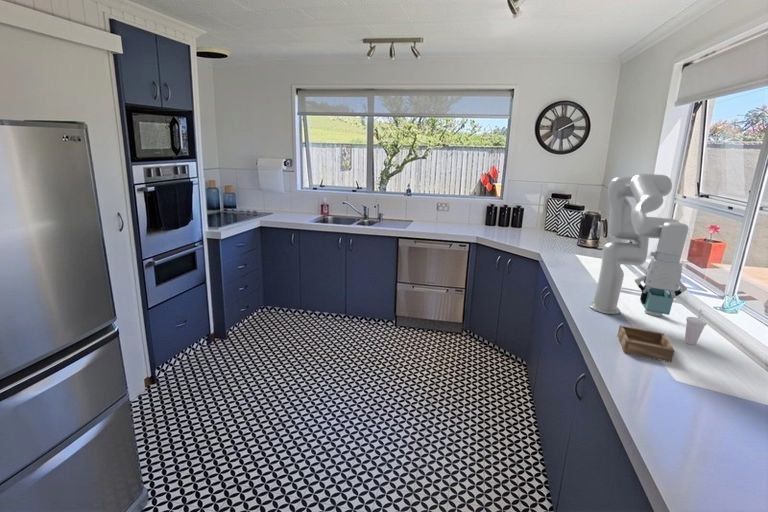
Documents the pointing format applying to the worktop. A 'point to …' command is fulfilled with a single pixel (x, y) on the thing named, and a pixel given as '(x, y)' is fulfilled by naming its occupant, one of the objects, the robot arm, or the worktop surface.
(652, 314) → the flask
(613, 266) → the robot arm
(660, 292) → the small crate
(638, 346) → the big crate
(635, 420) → the worktop surface
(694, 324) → the smoothie
